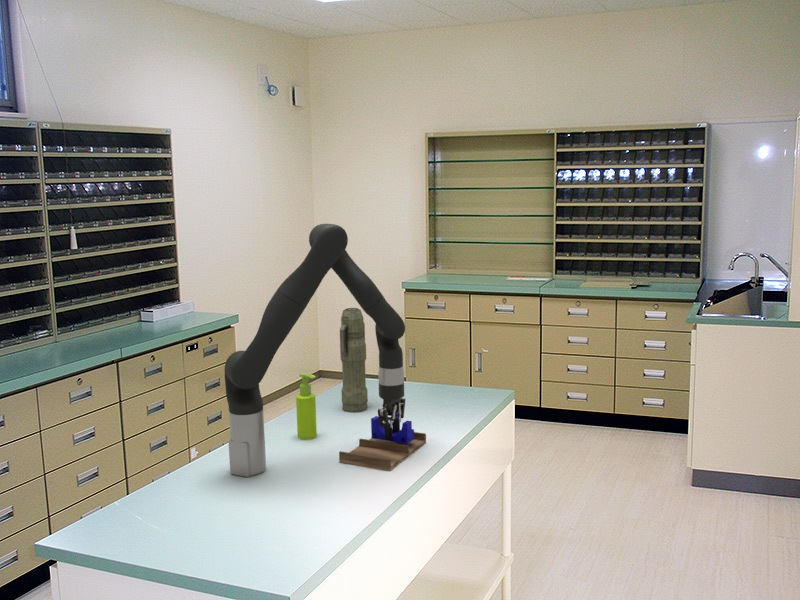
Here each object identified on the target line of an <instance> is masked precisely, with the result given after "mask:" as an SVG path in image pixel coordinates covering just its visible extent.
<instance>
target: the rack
mask: <svg viewBox="0 0 800 600" xmlns="http://www.w3.org/2000/svg"><path fill="white" fill-rule="evenodd" d="M400 431H401V429H400ZM425 444H427V433H426V432H425V433H424V432H418V431H414V440H412V441H411V442H409V443H408V444H405V443H398V442H392V441H386V440H380V439H373V438H372V437H371V438H369V439H366V438H365V439H364V438H359V439H358V446H356V447H355V448H354V449H352V450H350V451H348V452H347V451H341V450H340V451H339V452H338V459H339V461H338V462H339V463H342V464H347V465H348V464H349V465H354V466H358V467H363V468H364V467H366V468H370V469H377V470H382V471H387V472H388V471H389V472H391V471H392V470H393V469H394V468H396V467H397V466H398V465H400V464H401V463H402V462H403V461H405V460H406V459H407V458H409V457H410V456H412V455H413V454H414V453H415V452H416V451H418V450H419V449H420V448H422V447H423V446H424V445H425Z"/></svg>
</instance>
